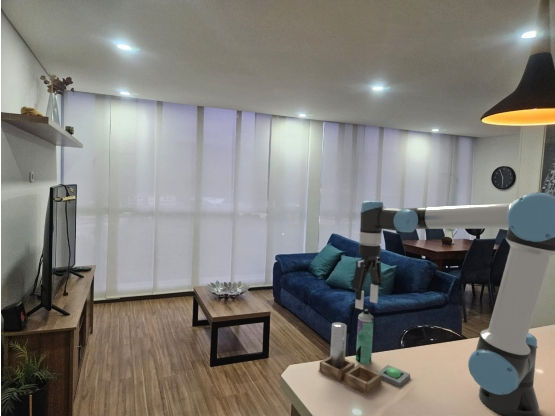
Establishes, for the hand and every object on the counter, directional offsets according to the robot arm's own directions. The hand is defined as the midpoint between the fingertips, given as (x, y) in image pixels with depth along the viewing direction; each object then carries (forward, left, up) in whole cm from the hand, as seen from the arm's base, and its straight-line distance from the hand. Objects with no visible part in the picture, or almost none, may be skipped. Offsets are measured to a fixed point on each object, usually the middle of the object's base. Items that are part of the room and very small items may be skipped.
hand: (366, 305), depth 128 cm
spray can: (0, 0, -22) cm, 22 cm away
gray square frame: (-13, +3, -22) cm, 25 cm away
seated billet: (+2, +14, -20) cm, 25 cm away
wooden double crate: (-3, +14, -22) cm, 26 cm away
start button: (-13, +3, -21) cm, 25 cm away
